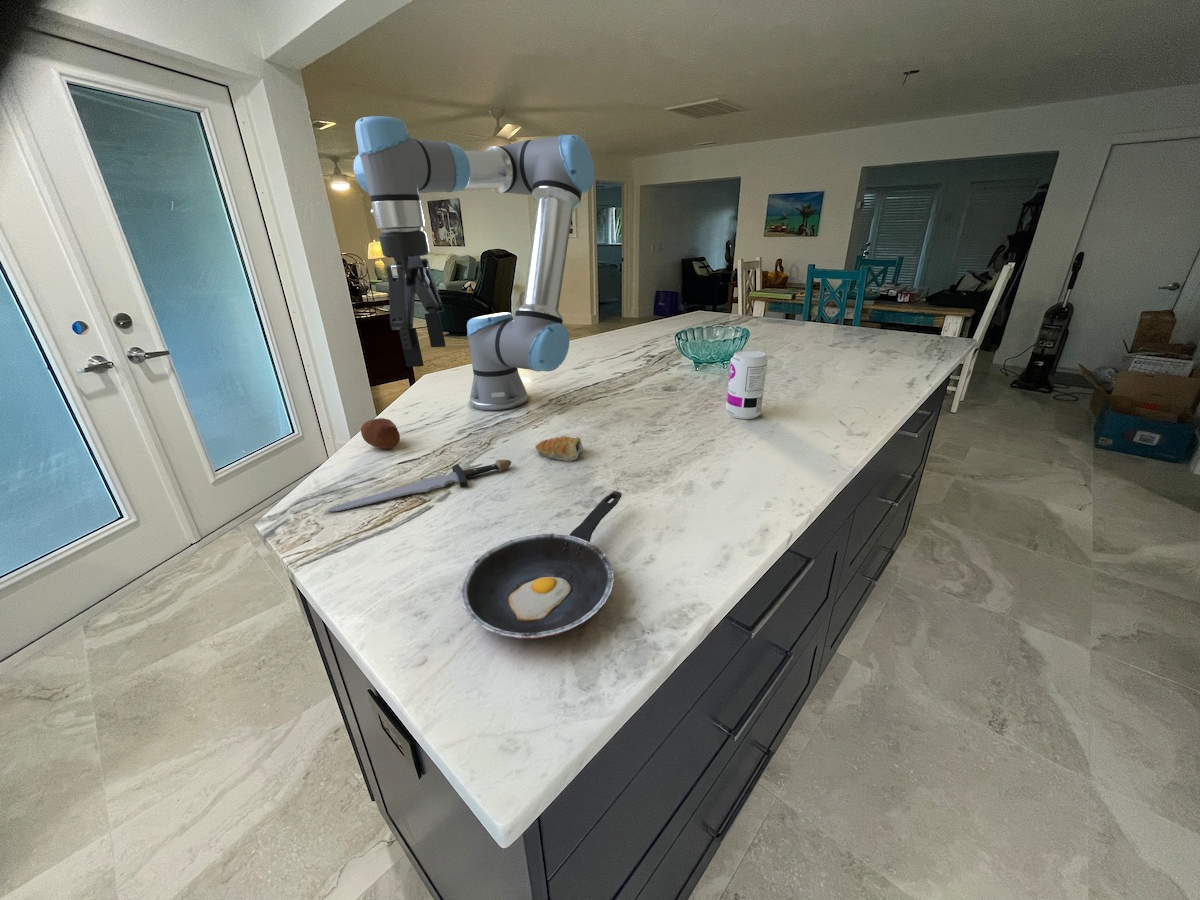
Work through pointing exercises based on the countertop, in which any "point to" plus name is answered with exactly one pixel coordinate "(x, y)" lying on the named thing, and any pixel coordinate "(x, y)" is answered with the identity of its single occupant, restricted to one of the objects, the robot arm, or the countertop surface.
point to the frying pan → (540, 581)
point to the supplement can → (746, 384)
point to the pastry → (560, 448)
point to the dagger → (427, 484)
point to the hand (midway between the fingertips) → (427, 356)
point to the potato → (380, 433)
